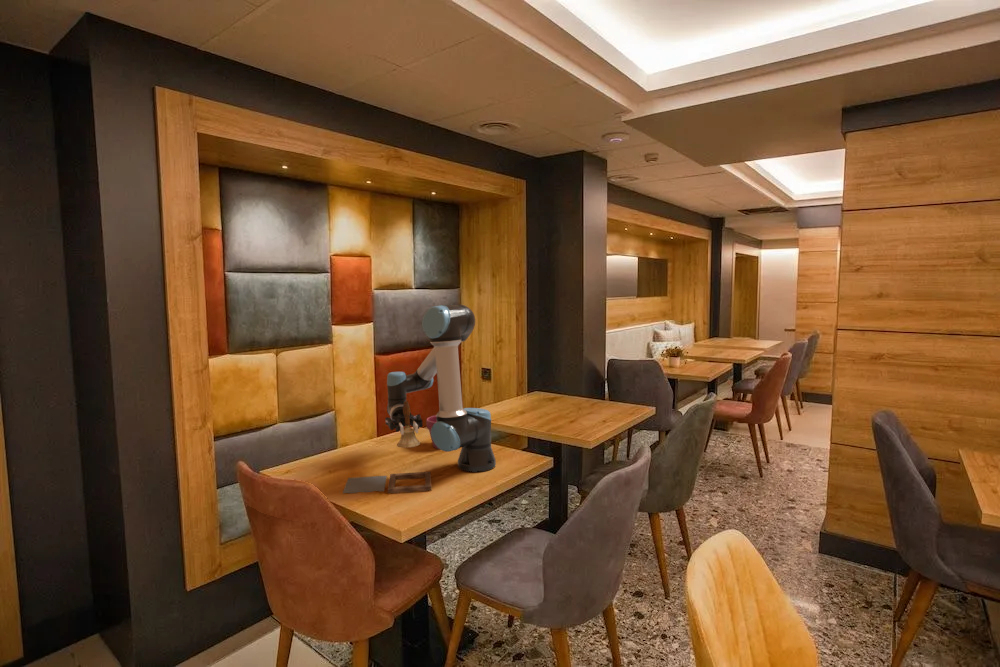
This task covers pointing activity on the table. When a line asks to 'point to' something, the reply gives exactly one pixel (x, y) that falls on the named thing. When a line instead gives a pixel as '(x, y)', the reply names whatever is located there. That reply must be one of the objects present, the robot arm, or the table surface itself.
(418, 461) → the table surface
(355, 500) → the table surface
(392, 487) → the square frame
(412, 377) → the robot arm
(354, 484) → the rubber mat
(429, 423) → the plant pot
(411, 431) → the hand bell
